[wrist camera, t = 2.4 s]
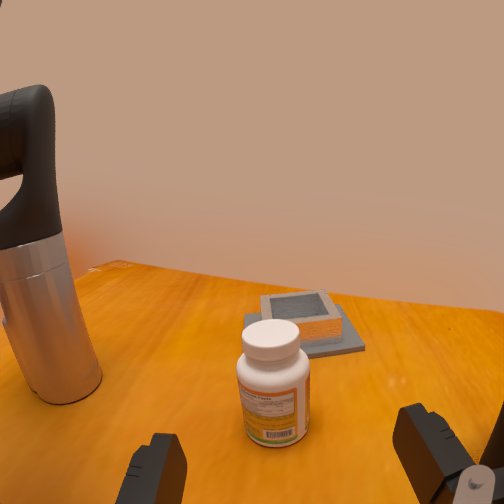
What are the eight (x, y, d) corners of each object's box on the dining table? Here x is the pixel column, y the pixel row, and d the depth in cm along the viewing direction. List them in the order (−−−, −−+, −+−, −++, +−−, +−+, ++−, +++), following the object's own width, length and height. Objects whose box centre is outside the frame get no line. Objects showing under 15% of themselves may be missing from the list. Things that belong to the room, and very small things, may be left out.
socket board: (243, 368, 33) (239, 335, 32) (245, 321, 44) (242, 293, 43) (364, 354, 32) (367, 320, 31) (339, 311, 44) (339, 283, 43)
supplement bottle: (276, 398, 27) (270, 308, 24) (321, 422, 23) (325, 326, 20) (232, 427, 23) (215, 334, 21) (277, 459, 19) (270, 362, 17)
